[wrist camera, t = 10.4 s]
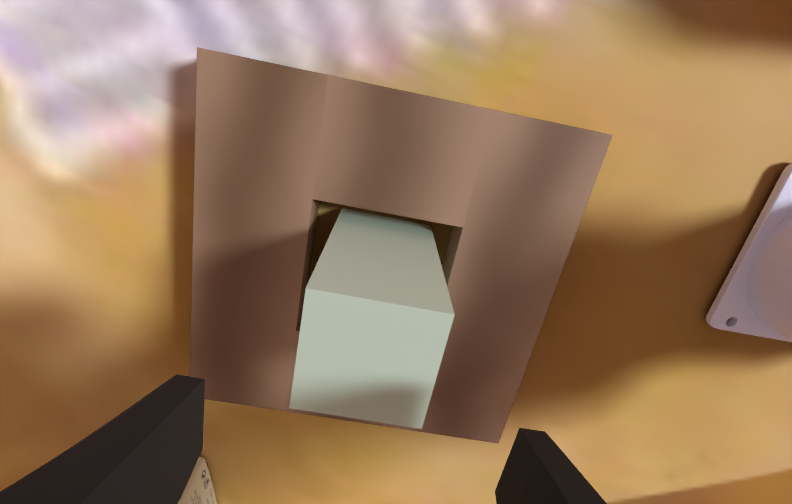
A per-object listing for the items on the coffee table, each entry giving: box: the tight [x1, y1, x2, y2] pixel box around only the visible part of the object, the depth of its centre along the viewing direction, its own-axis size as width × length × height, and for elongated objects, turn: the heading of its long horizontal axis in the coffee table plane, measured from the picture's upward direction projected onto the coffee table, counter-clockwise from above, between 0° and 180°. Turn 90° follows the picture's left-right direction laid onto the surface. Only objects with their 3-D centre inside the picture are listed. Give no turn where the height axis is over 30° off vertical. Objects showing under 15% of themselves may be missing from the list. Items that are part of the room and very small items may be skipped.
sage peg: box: [289, 208, 455, 429], centre depth 15 cm, size 4×4×8 cm
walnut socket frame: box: [190, 48, 612, 443], centre depth 18 cm, size 15×15×2 cm
